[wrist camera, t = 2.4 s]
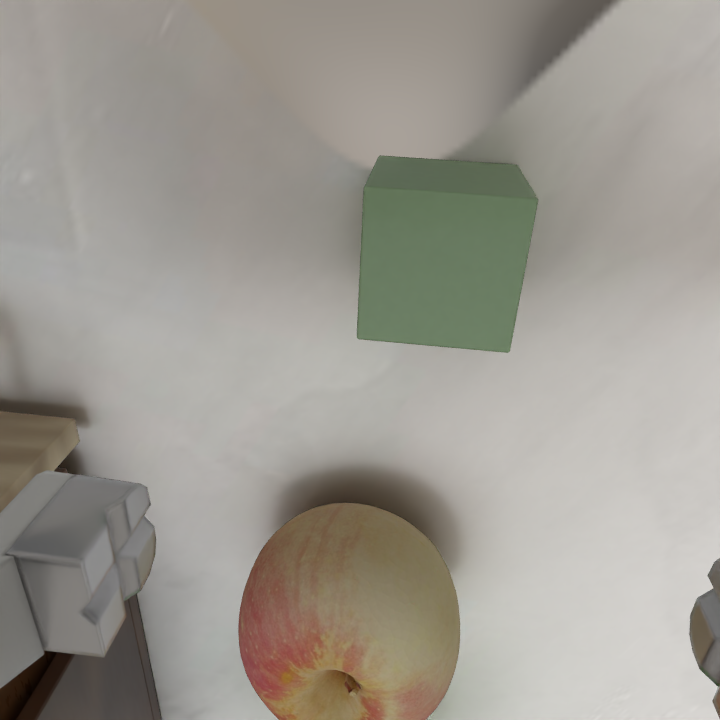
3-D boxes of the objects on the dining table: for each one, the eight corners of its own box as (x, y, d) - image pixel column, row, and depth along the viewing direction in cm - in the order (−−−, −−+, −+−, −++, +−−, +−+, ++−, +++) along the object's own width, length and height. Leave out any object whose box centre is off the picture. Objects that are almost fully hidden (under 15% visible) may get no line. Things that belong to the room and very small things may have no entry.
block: (371, 284, 22) (356, 339, 18) (378, 155, 19) (363, 185, 16) (496, 294, 21) (509, 353, 17) (518, 164, 19) (539, 198, 15)
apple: (349, 627, 31) (323, 801, 24) (231, 518, 28) (162, 678, 21) (494, 563, 28) (513, 744, 21) (376, 433, 25) (352, 589, 18)
